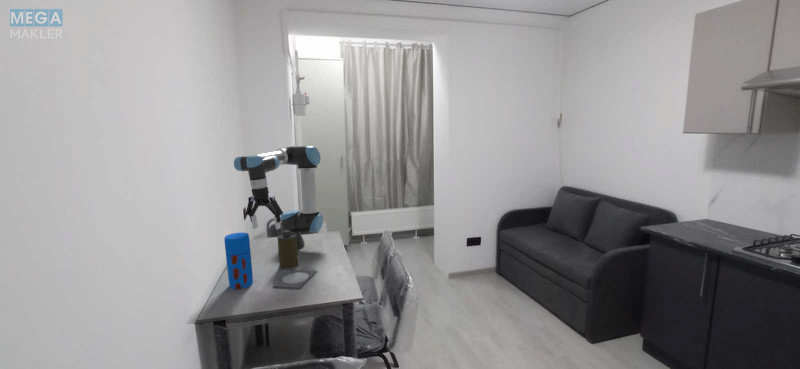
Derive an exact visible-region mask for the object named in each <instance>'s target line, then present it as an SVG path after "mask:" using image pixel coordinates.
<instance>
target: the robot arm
mask: <svg viewBox="0 0 800 369" xmlns="http://www.w3.org/2000/svg"><path fill="white" fill-rule="evenodd" d="M320 163H321V154H320V151H319V149H318V148H317V147H316V146H313V145H291V146H287V147H283V148H282V147H281V148H277V149H276V150H275V151H271V152H270V151H269V152H265V153H259V154H252V155H247V156H237V157H235V158H234V160H233V167H234V169H235V170H236V171H239V172H248V177H249V183H250V188H251V194H252V196H248V200H247V201H248V202H247V203H248V204H247V207H246V212H245V215H246V216H249V219H250V222H251V225H252V229H253V230H256V229H257V228H258V227H259V226H258V219H257V215H256V212H257V210H258V209H259V207H266V208H267V209H268V210H269V211H270V212H271V213H272V214H273V219H274V220H273V221H274V224H275V230H279V229H281V234H283V232H284V231H285V230H290V231H291V232H294V233H295V234H297V250H298V249H299V250H300V249H302V248H304V247H305V241H304V238H303V235H302V233H318V232H320V230H321V229H322V228H323V224H324V217H323V216H324V215H323V214H321V213H320V209H319V208H318V207H317V191H316V188H317V186H316V170H317V168H318V166H319V165H320ZM282 165H292V166H297V169H298V170H299V171H300V185H301V186H300V187H301V188H300V189H301V207H302V209H301V210H298V209H297V210H295V209H294V210H289V211H285V212H283V210H282V208H281V207H280V205H279V203H278V202H277V200H276V197H275V196H274V195H273V196H272V195H271V196H269V194H270V192H269V187H268V182H267V180H268V179H267V175H266V173H269V172H273V171H275V170H277V169H279V167H280V166H282Z"/></svg>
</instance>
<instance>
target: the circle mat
mask: <svg viewBox="0 0 800 369" xmlns="http://www.w3.org/2000/svg"><path fill="white" fill-rule="evenodd" d="M315 274H317V270H313V269H312V270H311V269H309V270H308V269H295V268H291V269H290V270H289V271H288V272H287V273H285V274H284V275H283V276H282V277H281V278H280V279H279V280H278V281H276V283H274V284H273V285H272V288H279V289H290V290H291V289H294V290H301V289H302V287H304V285H306V283H307V282H309V281H310V279H311V278H313V277H314V275H315Z"/></svg>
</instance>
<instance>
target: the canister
mask: <svg viewBox="0 0 800 369" xmlns="http://www.w3.org/2000/svg"><path fill="white" fill-rule="evenodd" d="M276 238H277V248H278V259H279V260H278V261H279V268H280V269H282V270H292V269H295V268H297V267H299V265H300V264H299V253H298V252H299V250H298V249H297V234H295V233H294V232H291V231H290V230H285V231H284V232H283V234H282V233H281V234H278V235H276Z"/></svg>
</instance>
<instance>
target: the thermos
mask: <svg viewBox="0 0 800 369" xmlns="http://www.w3.org/2000/svg"><path fill="white" fill-rule="evenodd" d="M224 247H225V249H224V250H225V258H226V259H225V260H226V268H227V279H228V284H229V288H230V289H232V290H242V289H246V288H249V287H251V286H252V285H253V282H254V278H253V277H254V276H253V264H252V254H251V253H252V250H251V243H250V235H249V233H248V232H235V233H230V234H227V235H225V237H224Z"/></svg>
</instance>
